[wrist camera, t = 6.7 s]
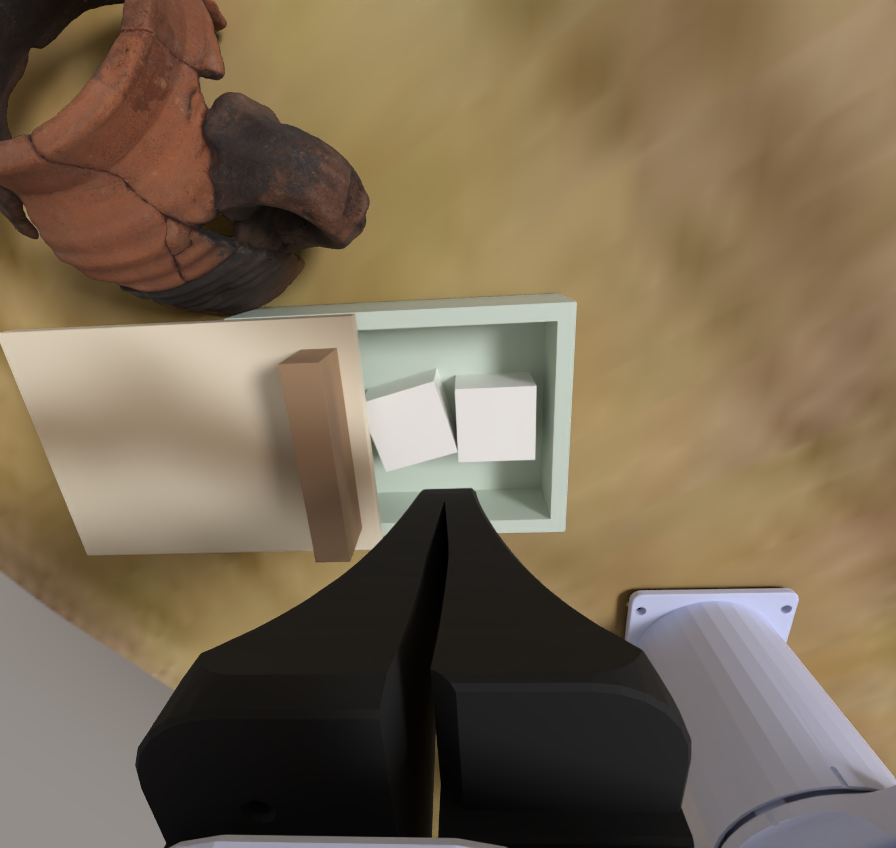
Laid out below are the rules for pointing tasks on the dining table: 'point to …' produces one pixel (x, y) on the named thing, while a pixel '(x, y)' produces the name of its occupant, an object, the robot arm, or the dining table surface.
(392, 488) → the box
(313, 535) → the lid
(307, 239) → the brown figurine
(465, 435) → the white block
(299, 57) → the dining table surface
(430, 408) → the white block
